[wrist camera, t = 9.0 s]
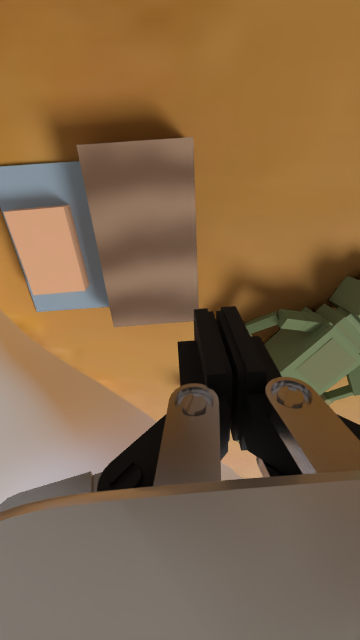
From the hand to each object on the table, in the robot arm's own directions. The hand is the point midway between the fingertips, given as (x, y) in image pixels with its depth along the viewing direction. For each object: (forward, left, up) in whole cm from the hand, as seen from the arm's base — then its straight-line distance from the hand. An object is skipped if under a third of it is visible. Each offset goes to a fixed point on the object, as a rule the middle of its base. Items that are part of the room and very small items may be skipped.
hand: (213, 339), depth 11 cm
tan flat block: (+1, -15, -20) cm, 25 cm away
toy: (+17, +14, -23) cm, 32 cm away
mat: (0, -14, -22) cm, 26 cm away
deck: (0, -4, -22) cm, 23 cm away
